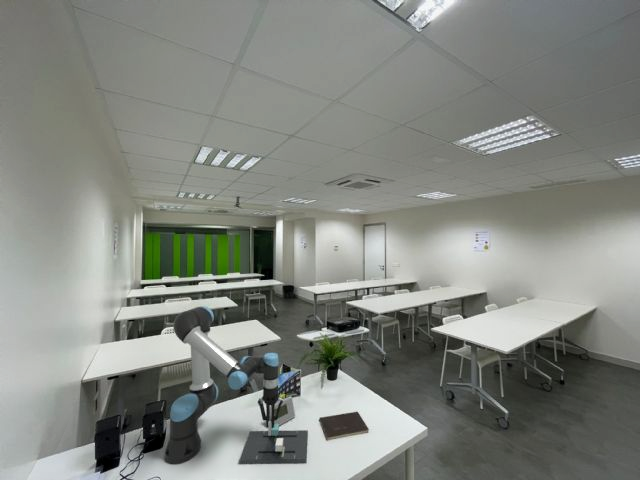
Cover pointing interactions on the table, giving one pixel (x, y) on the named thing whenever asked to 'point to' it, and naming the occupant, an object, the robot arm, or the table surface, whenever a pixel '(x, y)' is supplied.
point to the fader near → (279, 444)
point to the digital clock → (284, 411)
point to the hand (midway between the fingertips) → (270, 433)
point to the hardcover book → (343, 425)
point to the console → (263, 448)
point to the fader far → (275, 429)
